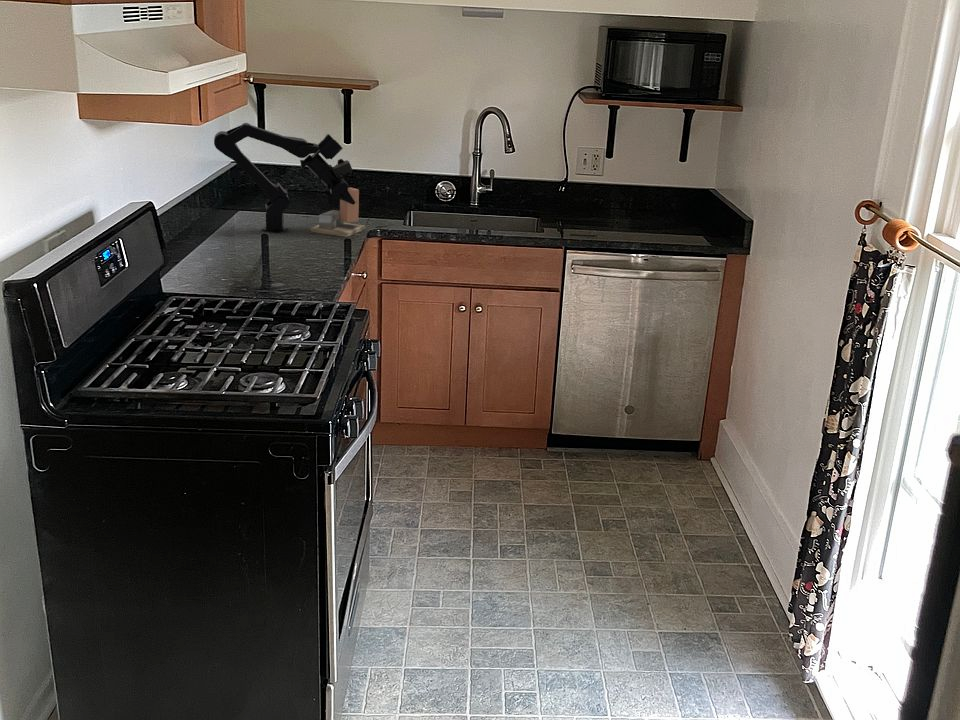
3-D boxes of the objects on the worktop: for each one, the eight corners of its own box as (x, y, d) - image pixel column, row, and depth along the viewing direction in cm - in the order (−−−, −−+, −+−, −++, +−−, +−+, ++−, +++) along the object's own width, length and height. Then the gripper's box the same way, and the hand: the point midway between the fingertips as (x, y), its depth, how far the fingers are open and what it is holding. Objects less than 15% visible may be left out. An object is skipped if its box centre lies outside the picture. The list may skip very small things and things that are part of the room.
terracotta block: (347, 222, 321) (347, 190, 317) (339, 219, 324) (340, 188, 320) (358, 221, 324) (358, 189, 320) (350, 218, 327) (351, 187, 323)
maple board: (346, 236, 316) (347, 220, 314) (310, 231, 320) (310, 215, 318) (365, 229, 328) (365, 213, 326) (329, 223, 332) (330, 208, 330)
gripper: (342, 157, 306) (374, 191, 313) (335, 148, 323) (366, 180, 330) (317, 180, 307) (350, 213, 314) (312, 170, 324) (343, 202, 331)
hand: (353, 201), depth 322 cm, fingers closed on terracotta block, 6 cm apart
